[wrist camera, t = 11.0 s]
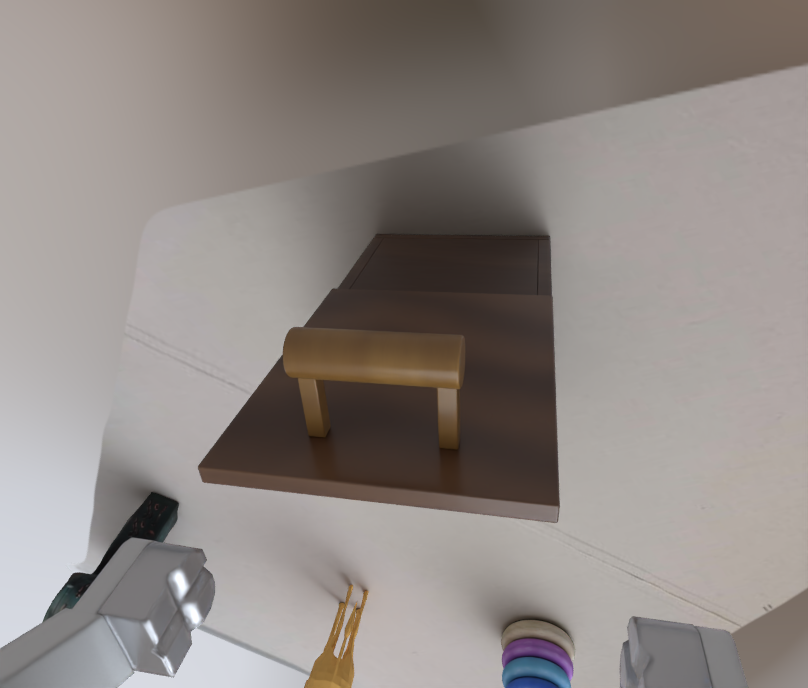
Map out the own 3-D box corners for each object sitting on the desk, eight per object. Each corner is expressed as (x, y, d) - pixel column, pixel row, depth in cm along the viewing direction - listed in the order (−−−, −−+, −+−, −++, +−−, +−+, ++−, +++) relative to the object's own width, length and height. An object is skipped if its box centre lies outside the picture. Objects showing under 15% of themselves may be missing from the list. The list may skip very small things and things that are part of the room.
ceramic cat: (144, 477, 63) (0, 651, 46) (197, 499, 63) (73, 680, 46) (135, 574, 74) (16, 741, 57) (180, 592, 74) (75, 765, 57)
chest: (538, 403, 47) (537, 489, 38) (391, 392, 49) (360, 471, 41) (550, 235, 39) (552, 298, 31) (375, 233, 42) (335, 291, 34)
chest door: (557, 523, 18) (571, 389, 15) (202, 483, 21) (162, 362, 18) (551, 308, 31) (558, 215, 28) (333, 300, 33) (322, 215, 31)
